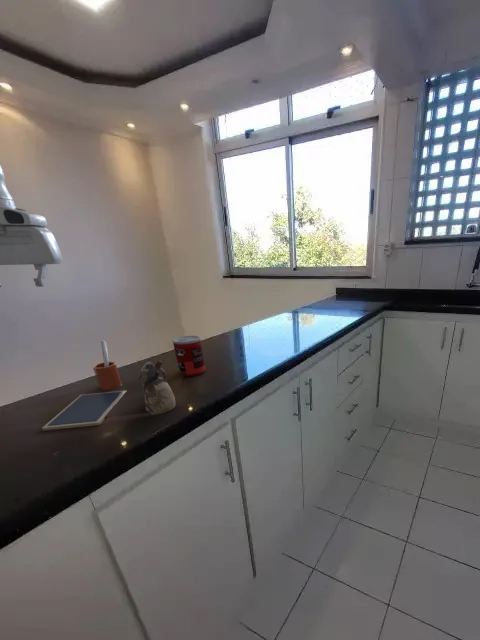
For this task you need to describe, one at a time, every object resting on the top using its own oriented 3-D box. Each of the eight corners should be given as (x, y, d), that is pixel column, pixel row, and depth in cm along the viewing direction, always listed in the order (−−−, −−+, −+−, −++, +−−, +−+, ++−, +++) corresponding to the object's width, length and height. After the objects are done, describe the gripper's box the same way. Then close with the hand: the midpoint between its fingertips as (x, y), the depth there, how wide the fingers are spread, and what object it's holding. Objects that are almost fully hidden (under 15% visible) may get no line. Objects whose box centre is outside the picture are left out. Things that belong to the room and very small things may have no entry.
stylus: (106, 387, 88) (99, 340, 87) (108, 386, 90) (102, 341, 89) (111, 386, 88) (104, 340, 88) (113, 386, 90) (106, 340, 89)
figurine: (146, 404, 79) (134, 359, 74) (176, 399, 81) (165, 355, 76) (144, 417, 73) (130, 369, 68) (176, 411, 75) (165, 364, 70)
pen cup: (97, 392, 87) (88, 369, 84) (105, 384, 92) (98, 362, 89) (118, 390, 88) (110, 367, 85) (125, 382, 93) (118, 360, 90)
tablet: (42, 430, 69) (41, 427, 69) (81, 396, 85) (80, 394, 85) (100, 425, 70) (98, 421, 70) (127, 392, 86) (126, 389, 86)
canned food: (180, 370, 101) (173, 337, 96) (205, 367, 103) (199, 334, 98) (179, 378, 95) (171, 343, 90) (206, 374, 97) (200, 340, 92)
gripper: (-81, 214, 60) (-45, 289, 66) (36, 214, 62) (60, 287, 68) (-53, 217, 65) (-23, 286, 71) (53, 217, 68) (74, 284, 74)
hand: (19, 287), depth 70 cm, fingers open, 8 cm apart
